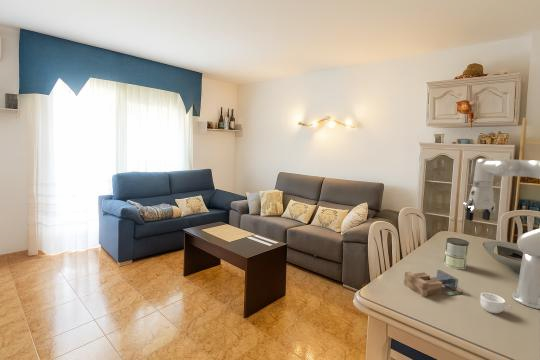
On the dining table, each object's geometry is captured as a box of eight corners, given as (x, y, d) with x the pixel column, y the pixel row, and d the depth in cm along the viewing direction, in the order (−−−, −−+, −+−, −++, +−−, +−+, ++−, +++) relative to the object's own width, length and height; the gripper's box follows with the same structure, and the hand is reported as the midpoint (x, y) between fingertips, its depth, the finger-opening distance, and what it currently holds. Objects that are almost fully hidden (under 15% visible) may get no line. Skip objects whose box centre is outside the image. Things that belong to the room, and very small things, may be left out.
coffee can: (440, 260, 164) (443, 236, 163) (459, 262, 163) (462, 238, 162) (449, 268, 154) (452, 243, 152) (470, 270, 153) (473, 244, 151)
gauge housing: (462, 293, 128) (464, 281, 127) (425, 299, 123) (427, 285, 122) (438, 280, 141) (440, 268, 140) (404, 284, 135) (405, 272, 134)
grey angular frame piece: (461, 292, 128) (462, 281, 128) (443, 294, 126) (444, 284, 125) (438, 279, 140) (439, 269, 139) (421, 281, 137) (422, 271, 137)
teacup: (478, 310, 116) (480, 297, 115) (479, 302, 122) (481, 290, 121) (510, 320, 109) (512, 307, 109) (510, 311, 115) (512, 299, 115)
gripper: (474, 186, 131) (469, 222, 134) (505, 186, 135) (499, 221, 137) (460, 183, 138) (455, 218, 141) (489, 183, 142) (484, 217, 145)
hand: (477, 219), depth 139 cm, fingers open, 9 cm apart
